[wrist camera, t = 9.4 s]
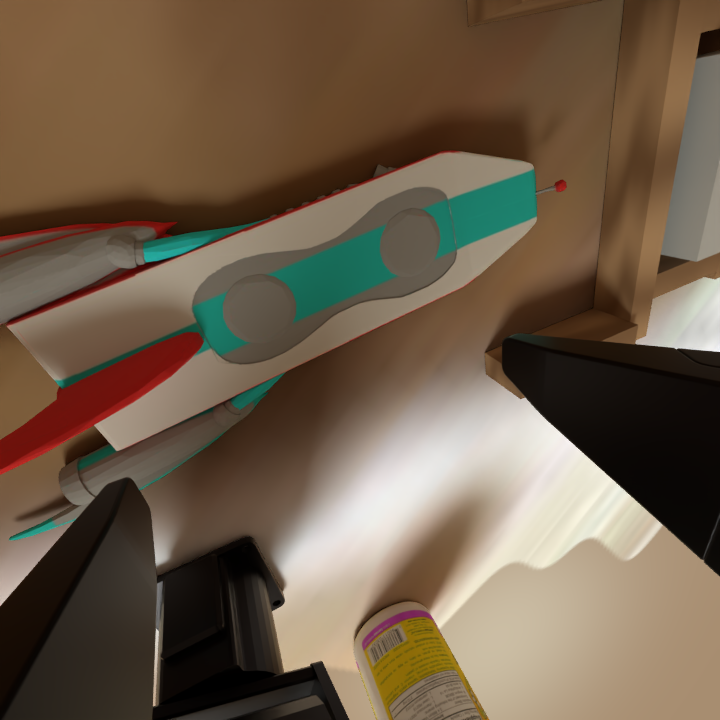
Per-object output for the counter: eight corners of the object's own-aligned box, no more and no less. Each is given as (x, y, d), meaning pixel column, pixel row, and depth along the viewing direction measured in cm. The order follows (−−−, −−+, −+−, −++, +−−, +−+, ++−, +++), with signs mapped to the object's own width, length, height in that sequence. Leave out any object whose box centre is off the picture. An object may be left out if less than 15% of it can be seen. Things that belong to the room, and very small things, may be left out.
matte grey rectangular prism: (709, 52, 21) (809, 32, 17) (675, 228, 25) (750, 239, 22) (650, 67, 20) (744, 49, 17) (626, 247, 24) (696, 261, 21)
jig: (693, 285, 28) (743, 298, 26) (485, 374, 24) (520, 399, 22) (777, -76, 19) (867, -111, 16) (465, -24, 15) (521, -60, 13)
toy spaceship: (470, 15, 18) (572, -34, 13) (508, 253, 24) (587, 271, 20) (-239, 329, 12) (-442, 413, 8) (47, 531, 18) (16, 640, 14)
